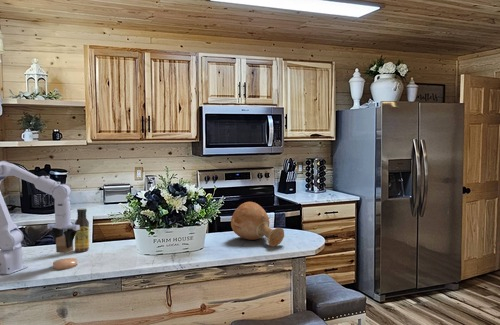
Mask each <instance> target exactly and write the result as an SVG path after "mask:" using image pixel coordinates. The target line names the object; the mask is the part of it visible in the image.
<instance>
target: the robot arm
mask: <svg viewBox="0 0 500 325" xmlns="http://www.w3.org/2000/svg"><path fill="white" fill-rule="evenodd" d="M7 177H16V178H18V179H20V180H23V181H26V182H28V183H31V184H33V186H34V187H35V189H37V190H39V191H41V192H43V193H44V194H45V193H46V194H47V195H50V196H52V198H53V199H54V222H55V223H52V222H51V223H48V224H47V226H46V227H47V230H50V231H49V234H51V236H52V237H53V240H54V243H55V244H56V238H57V237H60V236H63V235H65V238H66V245H67V248H69V247H72V243H73V244H74V240H75V234H76V232H77V230H80V225H75V223H72V220H71V218H72V217H71V202H70V199H71V198H70V195H71V194H72V190H71V187H70V186H69V185H67V184H66V183H61V181H56V180H54V179H51V178H50V176H49V175H41V176H38V175H35V174H34V173H32V172H30V171H28V170H25V169H24V168H22V167H20V166H18V165H16V164H14V163H12V162H11V163H10V162H8V161H6V160H0V184H1V183H2V182H3V181H4V179H6V178H7ZM2 194H3V193H2V192H1V190H0V275H10V274H13V273H16V272H18V271H21V270H24V269H26V268H28V267H29V266H28V265H24V264H23V249H22V247H23V246H22V241H23V240H24V233H23V231H21V230H20V229H19V226H18V225H17V224H16V223H15V222H13V219H12V217H11V215H10V212H9V209H8V206H7V204H6V201H5V199H4V197H3V195H2Z"/></svg>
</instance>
